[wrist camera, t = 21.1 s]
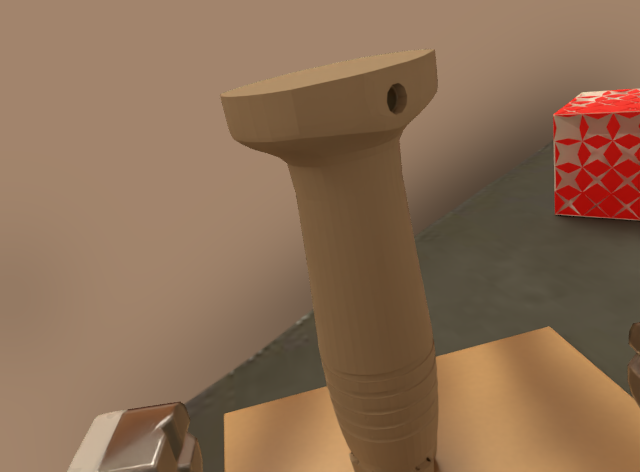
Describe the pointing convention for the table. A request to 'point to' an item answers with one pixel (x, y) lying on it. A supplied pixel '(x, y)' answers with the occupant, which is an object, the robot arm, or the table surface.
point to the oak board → (468, 417)
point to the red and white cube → (598, 155)
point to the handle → (358, 241)
